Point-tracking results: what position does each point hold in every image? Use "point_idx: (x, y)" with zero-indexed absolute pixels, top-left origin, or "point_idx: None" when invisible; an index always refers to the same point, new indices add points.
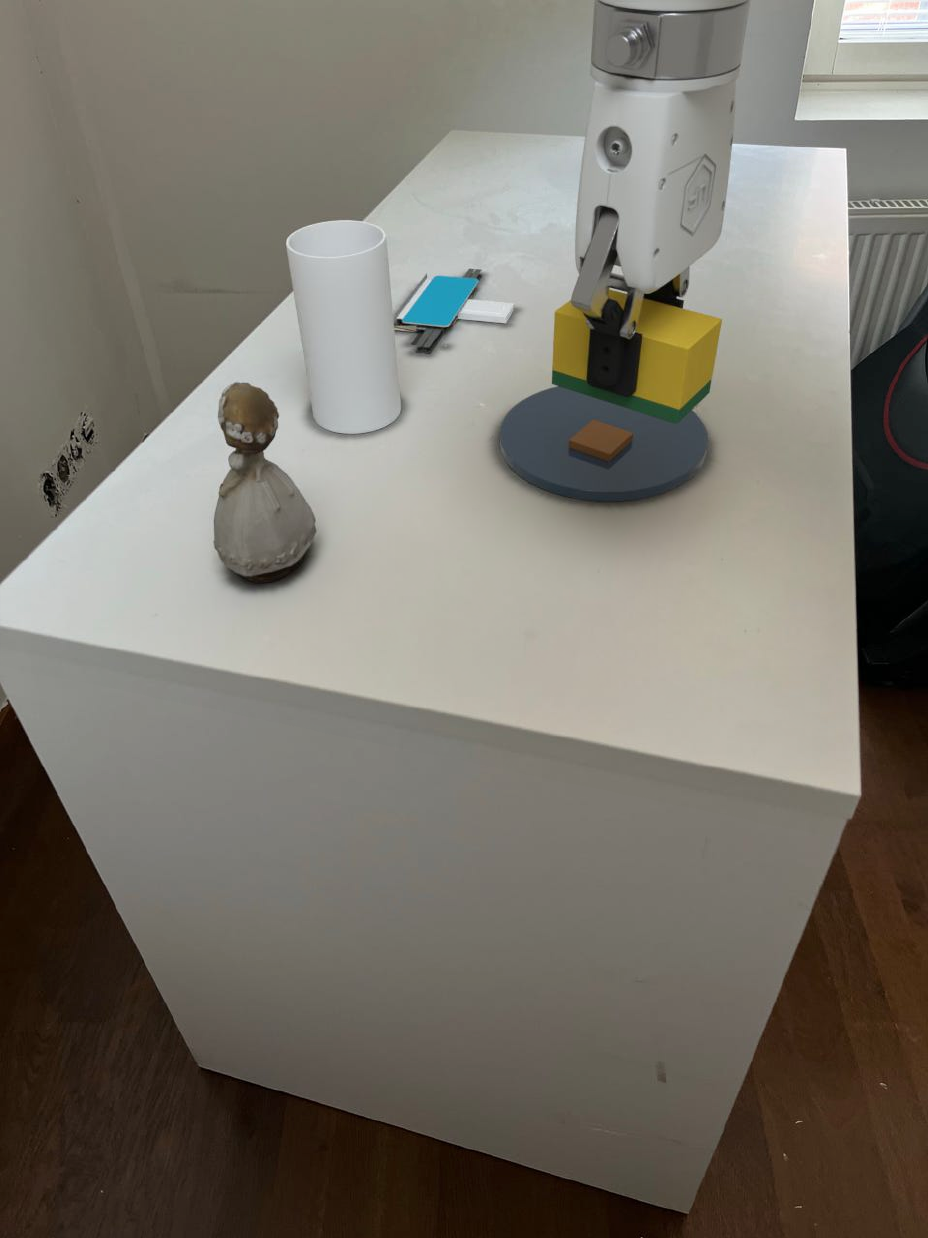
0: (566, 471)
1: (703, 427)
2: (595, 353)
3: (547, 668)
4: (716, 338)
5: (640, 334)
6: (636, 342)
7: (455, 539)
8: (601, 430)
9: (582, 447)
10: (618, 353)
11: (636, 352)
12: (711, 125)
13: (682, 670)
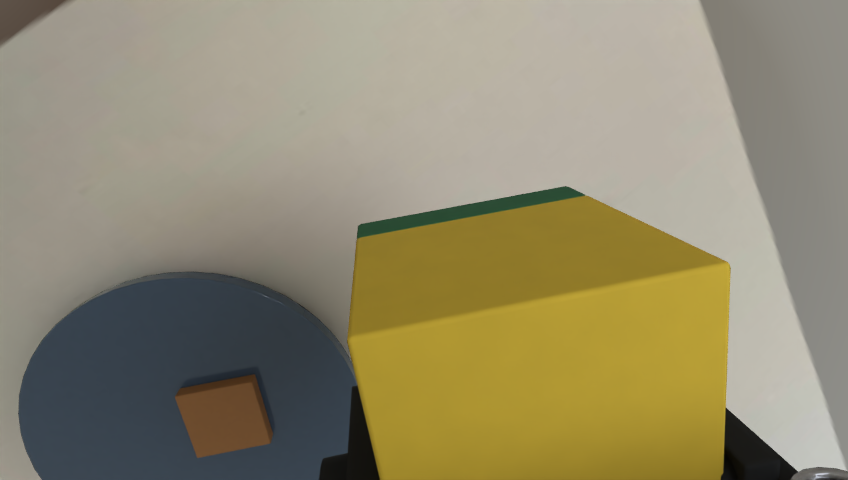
0: (322, 397)
1: (48, 339)
2: None
3: (642, 149)
4: (381, 293)
5: (749, 469)
6: (758, 446)
7: None
8: (210, 431)
9: (266, 419)
10: (771, 448)
11: (726, 415)
12: None
13: (542, 10)
